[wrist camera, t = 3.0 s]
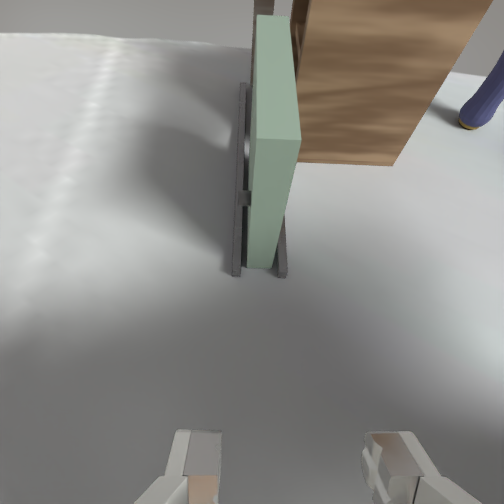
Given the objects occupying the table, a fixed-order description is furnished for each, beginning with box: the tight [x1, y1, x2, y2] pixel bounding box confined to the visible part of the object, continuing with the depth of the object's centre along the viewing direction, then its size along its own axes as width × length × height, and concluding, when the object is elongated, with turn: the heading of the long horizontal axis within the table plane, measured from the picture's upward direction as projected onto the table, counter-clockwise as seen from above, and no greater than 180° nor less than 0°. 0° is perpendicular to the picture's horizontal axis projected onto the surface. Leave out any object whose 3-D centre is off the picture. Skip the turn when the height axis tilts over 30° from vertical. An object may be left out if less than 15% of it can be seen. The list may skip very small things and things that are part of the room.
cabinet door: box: [238, 15, 301, 269], centre depth 28 cm, size 15×4×16 cm, turn 179°
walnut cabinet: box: [250, 0, 493, 166], centre depth 34 cm, size 16×18×20 cm
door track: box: [232, 83, 288, 278], centre depth 37 cm, size 30×5×1 cm, turn 179°
